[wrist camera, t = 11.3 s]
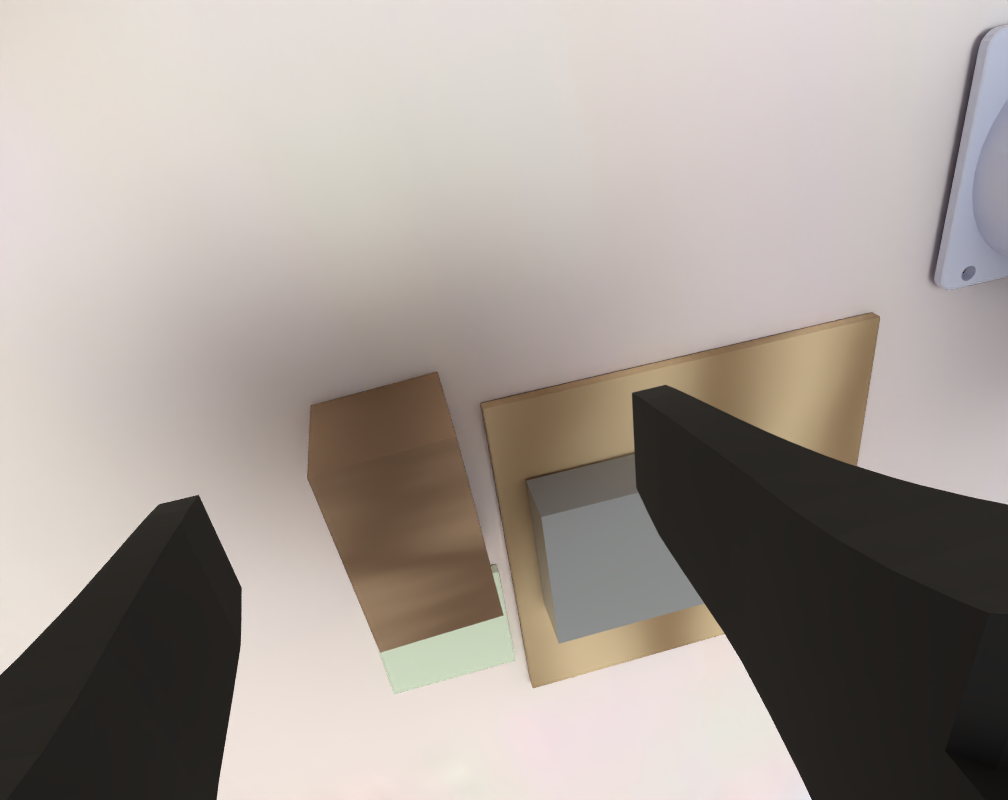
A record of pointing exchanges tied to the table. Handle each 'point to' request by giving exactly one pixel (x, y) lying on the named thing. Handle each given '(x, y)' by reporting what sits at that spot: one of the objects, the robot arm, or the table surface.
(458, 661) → the block
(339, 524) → the block
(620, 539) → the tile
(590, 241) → the table surface
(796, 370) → the mat
